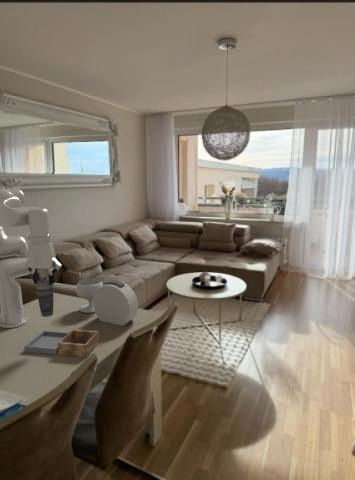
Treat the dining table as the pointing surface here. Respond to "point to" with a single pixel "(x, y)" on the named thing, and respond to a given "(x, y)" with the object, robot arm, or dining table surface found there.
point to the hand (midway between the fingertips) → (44, 283)
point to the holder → (77, 349)
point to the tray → (45, 342)
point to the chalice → (88, 292)
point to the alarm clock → (115, 303)
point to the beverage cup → (45, 296)
